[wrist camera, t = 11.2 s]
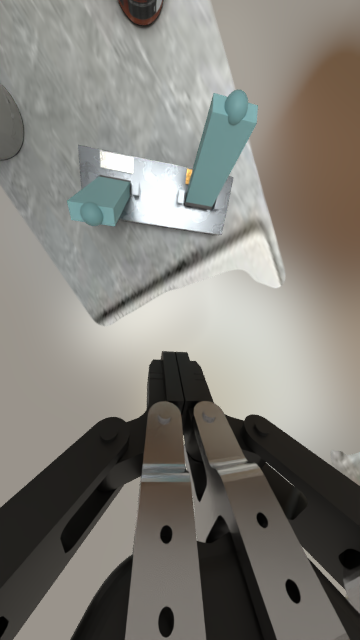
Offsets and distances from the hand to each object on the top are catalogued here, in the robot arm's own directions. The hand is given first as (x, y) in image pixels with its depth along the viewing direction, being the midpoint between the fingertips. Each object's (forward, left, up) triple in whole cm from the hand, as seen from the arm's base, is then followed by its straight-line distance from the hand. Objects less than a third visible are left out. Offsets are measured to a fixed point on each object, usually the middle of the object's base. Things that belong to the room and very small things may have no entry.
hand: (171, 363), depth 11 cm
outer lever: (+4, +12, -23) cm, 26 cm away
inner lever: (-8, +12, -23) cm, 27 cm away
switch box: (-2, +12, -28) cm, 31 cm away
